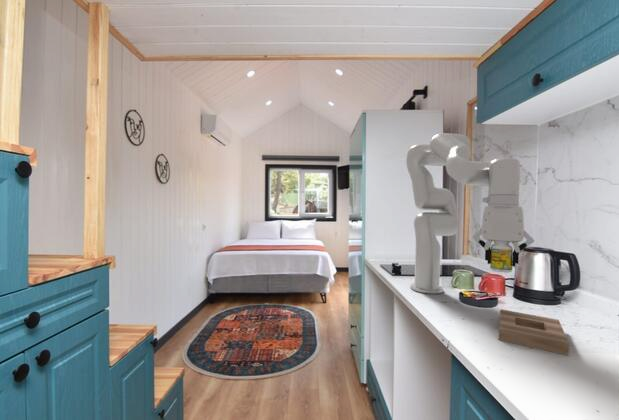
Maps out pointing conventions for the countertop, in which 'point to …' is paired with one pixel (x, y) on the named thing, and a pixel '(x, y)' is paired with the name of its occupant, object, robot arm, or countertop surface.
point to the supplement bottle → (501, 257)
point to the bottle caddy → (533, 331)
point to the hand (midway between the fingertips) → (501, 263)
